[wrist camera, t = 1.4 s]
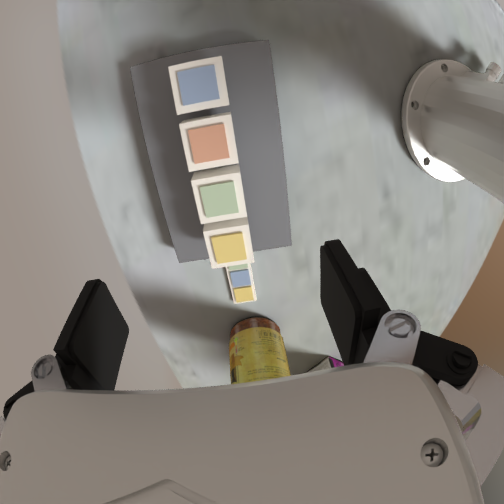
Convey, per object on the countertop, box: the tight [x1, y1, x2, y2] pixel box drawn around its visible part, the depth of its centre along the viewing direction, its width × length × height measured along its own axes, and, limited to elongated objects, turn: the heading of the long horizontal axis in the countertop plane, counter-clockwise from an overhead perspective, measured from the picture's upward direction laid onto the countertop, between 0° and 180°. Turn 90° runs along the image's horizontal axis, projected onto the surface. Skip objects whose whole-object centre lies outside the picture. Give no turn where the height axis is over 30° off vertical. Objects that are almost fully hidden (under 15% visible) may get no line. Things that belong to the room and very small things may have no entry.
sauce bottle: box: [229, 317, 291, 384], centre depth 26 cm, size 7×6×20 cm
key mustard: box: [203, 217, 254, 269], centre depth 23 cm, size 3×3×4 cm
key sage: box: [191, 164, 247, 224], centre depth 21 cm, size 3×3×4 cm
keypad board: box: [130, 40, 292, 263], centre depth 22 cm, size 17×10×2 cm, turn 8°
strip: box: [226, 263, 257, 304], centre depth 29 cm, size 7×2×1 cm, turn 8°
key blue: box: [168, 56, 229, 115], centre depth 16 cm, size 3×3×4 cm
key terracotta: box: [179, 112, 239, 172], centre depth 19 cm, size 3×3×4 cm
